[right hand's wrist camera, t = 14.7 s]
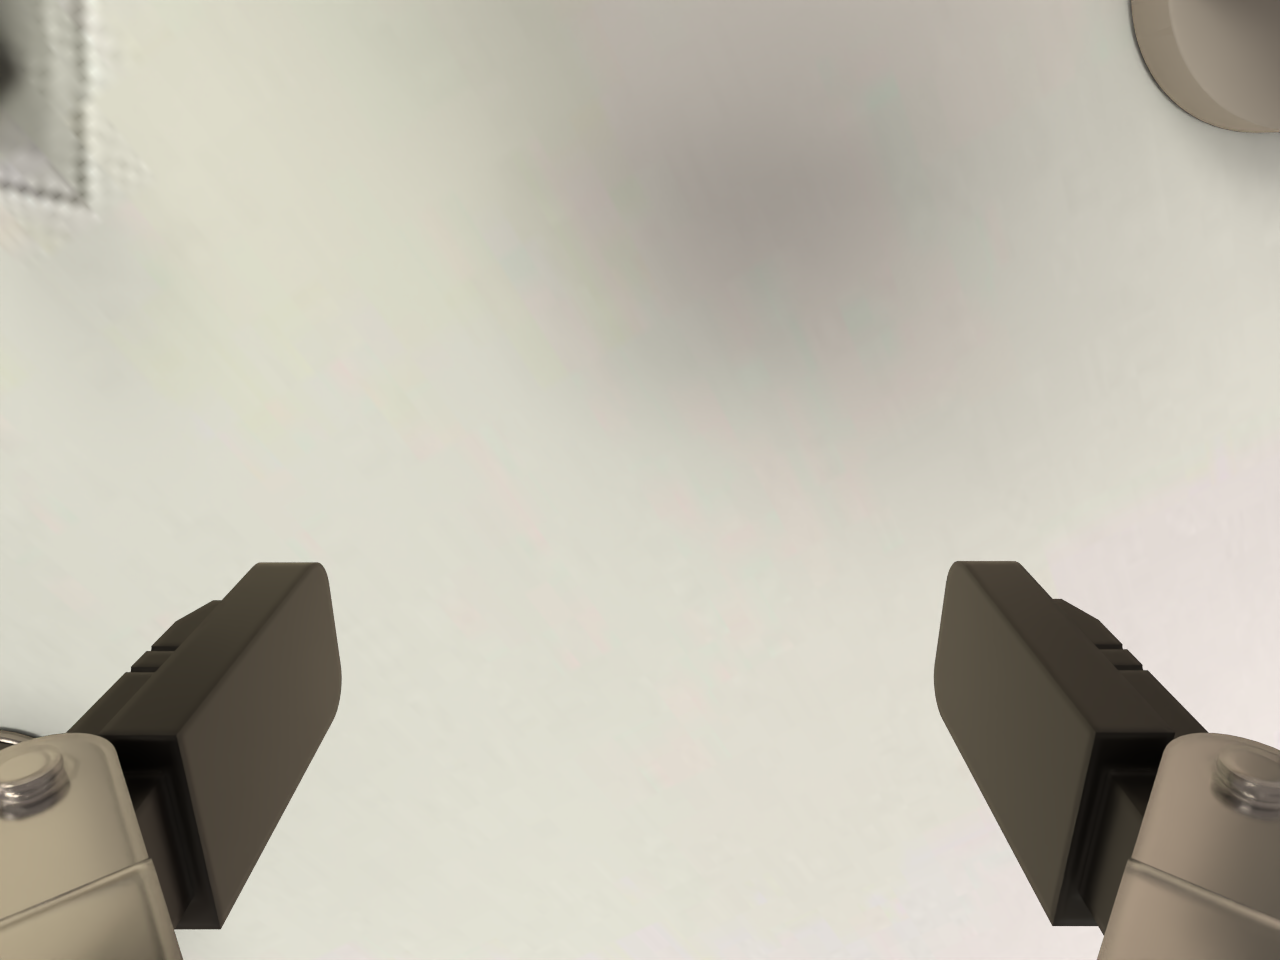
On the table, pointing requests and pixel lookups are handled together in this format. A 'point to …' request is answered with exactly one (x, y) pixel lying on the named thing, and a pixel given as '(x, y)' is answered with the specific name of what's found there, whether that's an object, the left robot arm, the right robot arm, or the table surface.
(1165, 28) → the bust sculpture
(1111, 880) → the right robot arm
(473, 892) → the table surface
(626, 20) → the table surface
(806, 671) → the table surface
